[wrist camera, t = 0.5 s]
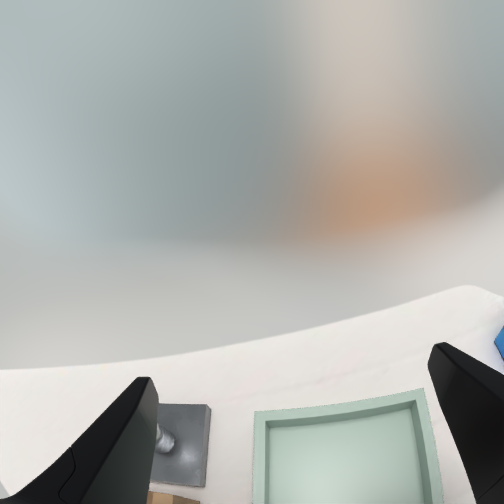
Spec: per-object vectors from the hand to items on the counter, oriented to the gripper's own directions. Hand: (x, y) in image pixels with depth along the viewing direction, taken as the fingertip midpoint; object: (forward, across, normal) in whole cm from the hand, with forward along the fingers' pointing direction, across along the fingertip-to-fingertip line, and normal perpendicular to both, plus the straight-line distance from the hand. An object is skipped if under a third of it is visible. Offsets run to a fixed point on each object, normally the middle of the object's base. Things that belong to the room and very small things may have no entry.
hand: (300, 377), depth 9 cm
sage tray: (+2, -4, +16) cm, 17 cm away
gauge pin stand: (+8, +9, +16) cm, 20 cm away
